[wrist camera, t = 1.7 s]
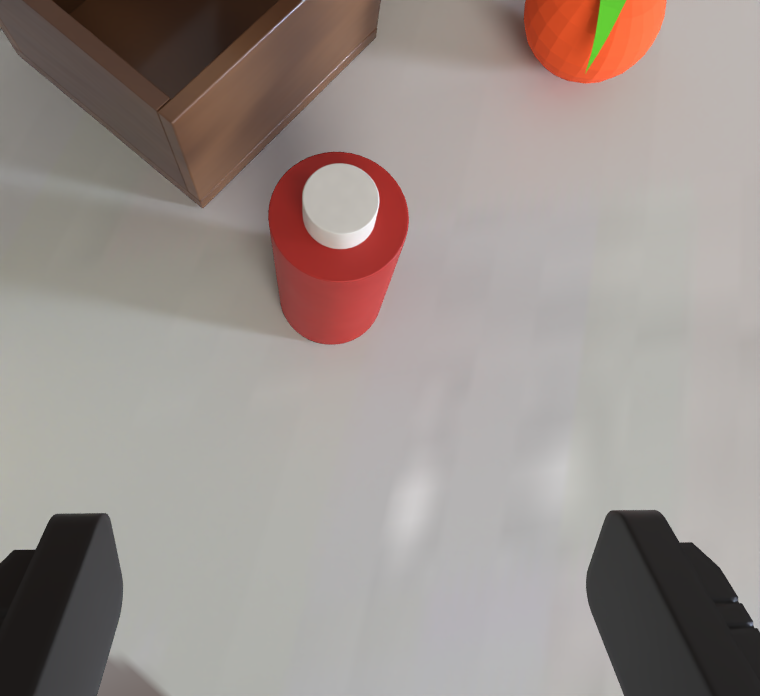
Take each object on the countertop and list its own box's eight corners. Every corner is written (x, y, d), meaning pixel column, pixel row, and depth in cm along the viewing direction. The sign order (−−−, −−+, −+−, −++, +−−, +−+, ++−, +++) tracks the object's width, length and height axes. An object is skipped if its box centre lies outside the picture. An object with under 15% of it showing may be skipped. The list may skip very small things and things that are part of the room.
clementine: (614, 140, 37) (684, 57, 30) (492, 107, 37) (535, 15, 30) (635, 20, 39) (706, -85, 32) (519, -14, 38) (565, -126, 32)
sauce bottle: (336, 365, 33) (350, 298, 22) (258, 299, 33) (234, 202, 22) (401, 291, 34) (444, 193, 23) (325, 228, 34) (332, 103, 23)
